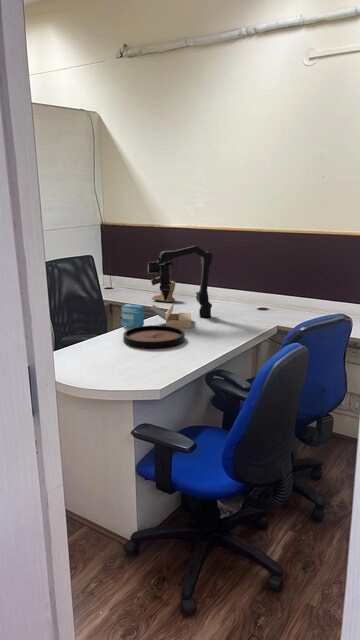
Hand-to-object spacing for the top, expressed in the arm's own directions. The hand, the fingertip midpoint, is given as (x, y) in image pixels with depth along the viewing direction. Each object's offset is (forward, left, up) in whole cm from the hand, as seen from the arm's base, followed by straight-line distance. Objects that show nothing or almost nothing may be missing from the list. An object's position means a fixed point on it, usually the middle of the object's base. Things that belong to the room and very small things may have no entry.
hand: (165, 298), depth 292 cm
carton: (-8, +12, -12) cm, 19 cm away
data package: (+18, +18, -13) cm, 28 cm away
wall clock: (+4, +45, -13) cm, 47 cm away
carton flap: (-3, +12, -6) cm, 14 cm away
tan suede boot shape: (+3, -52, -13) cm, 53 cm away
